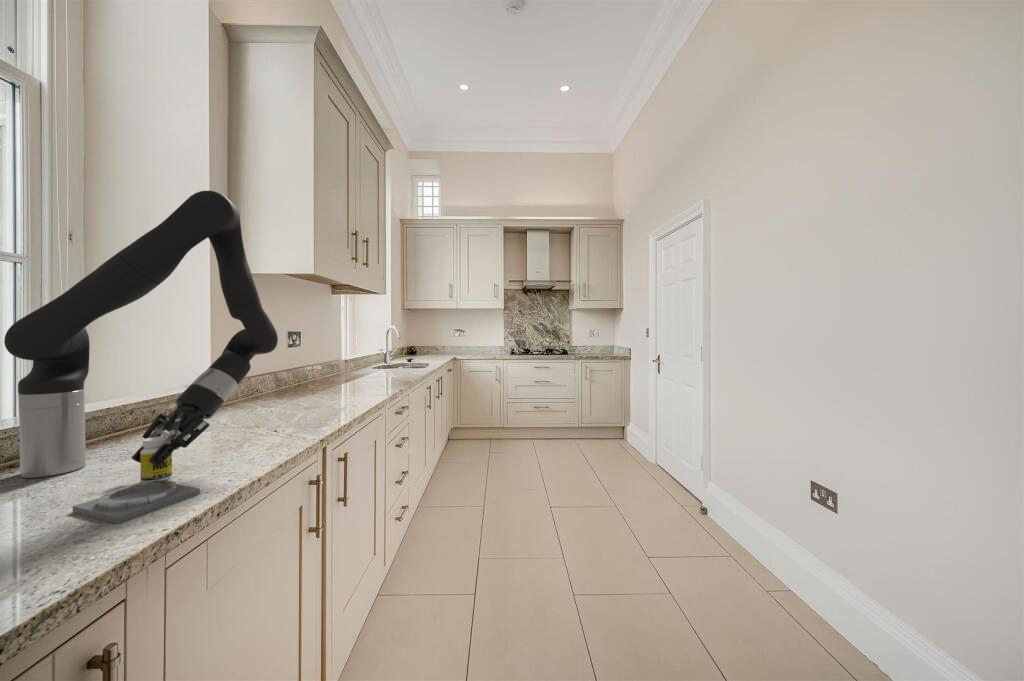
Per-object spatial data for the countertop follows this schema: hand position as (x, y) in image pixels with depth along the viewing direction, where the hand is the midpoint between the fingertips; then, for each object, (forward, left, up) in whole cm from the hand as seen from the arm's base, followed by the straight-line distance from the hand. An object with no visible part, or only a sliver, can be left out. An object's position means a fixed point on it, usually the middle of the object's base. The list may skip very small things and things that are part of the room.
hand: (145, 462), depth 78 cm
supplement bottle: (0, +2, -4) cm, 5 cm away
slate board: (+10, -6, -4) cm, 12 cm away
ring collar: (+10, -6, -4) cm, 12 cm away
